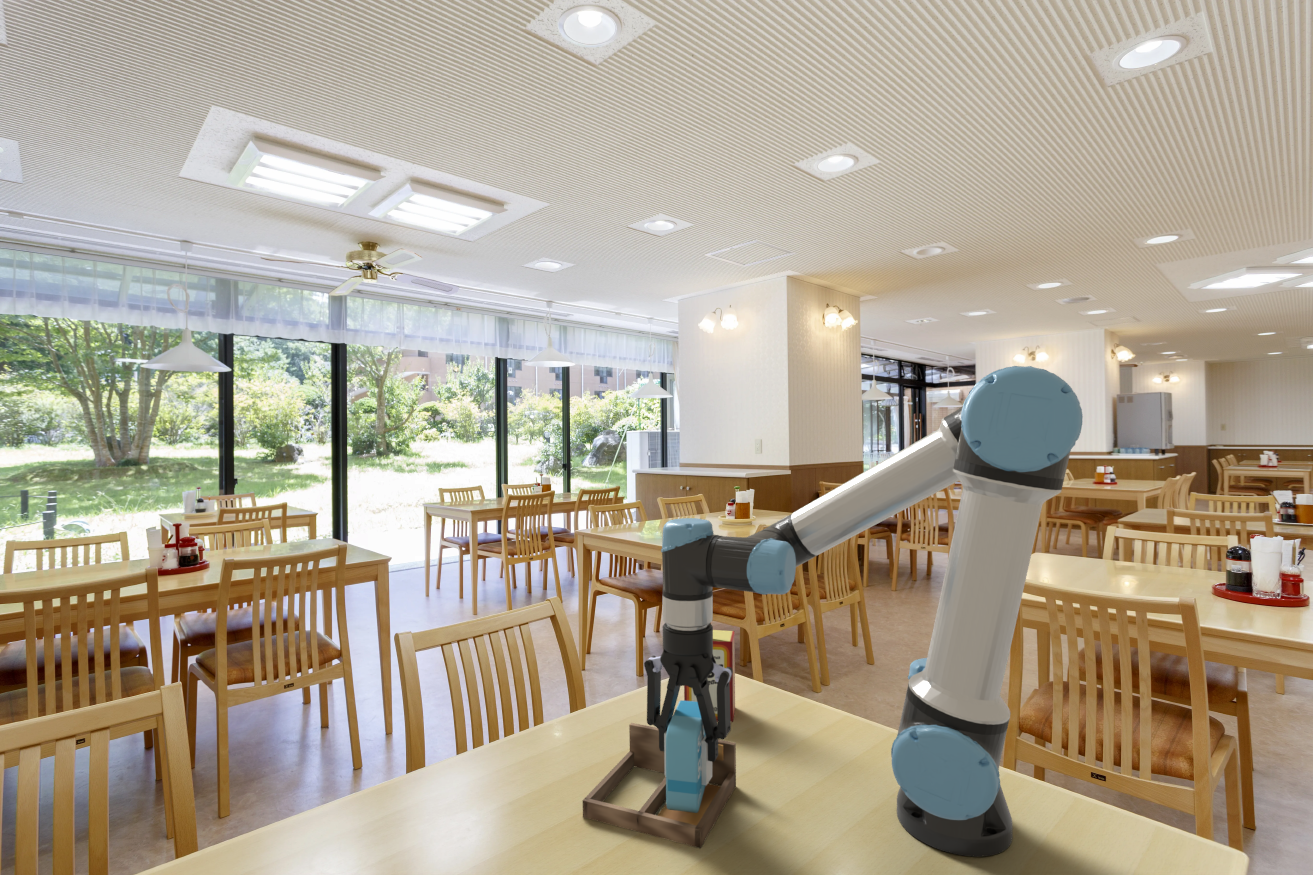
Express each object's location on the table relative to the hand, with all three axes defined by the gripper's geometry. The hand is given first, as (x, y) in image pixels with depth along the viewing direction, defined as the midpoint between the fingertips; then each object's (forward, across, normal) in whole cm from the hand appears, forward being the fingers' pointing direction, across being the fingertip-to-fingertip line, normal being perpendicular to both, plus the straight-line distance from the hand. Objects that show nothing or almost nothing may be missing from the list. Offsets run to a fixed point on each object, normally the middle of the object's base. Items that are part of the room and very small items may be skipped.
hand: (688, 775), depth 99 cm
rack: (+5, +4, 0) cm, 6 cm away
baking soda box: (+5, +8, -32) cm, 33 cm away
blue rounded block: (+3, 0, 0) cm, 3 cm away
